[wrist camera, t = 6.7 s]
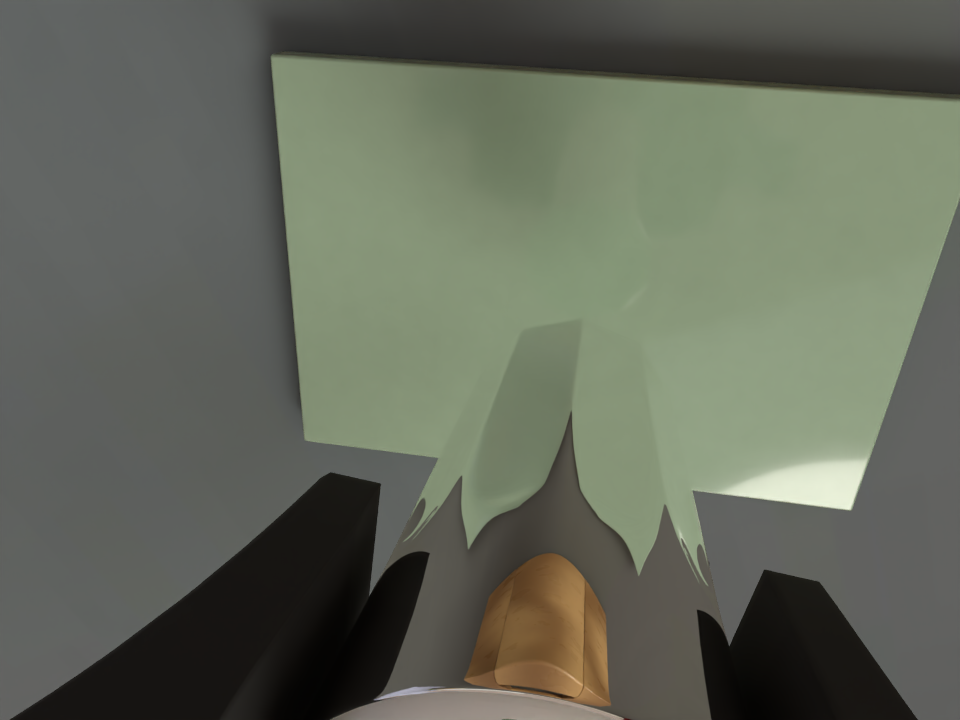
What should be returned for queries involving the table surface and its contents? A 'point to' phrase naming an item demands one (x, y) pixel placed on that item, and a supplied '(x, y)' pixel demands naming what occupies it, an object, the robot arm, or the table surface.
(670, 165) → the tile
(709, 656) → the milkshake
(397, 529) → the table surface
